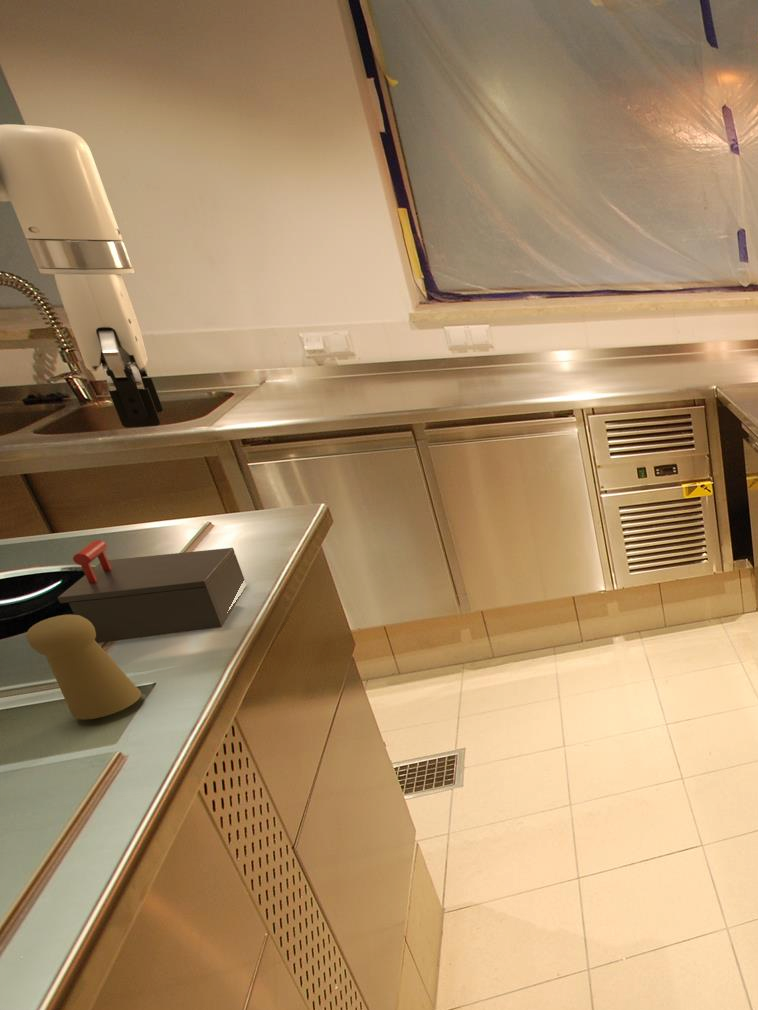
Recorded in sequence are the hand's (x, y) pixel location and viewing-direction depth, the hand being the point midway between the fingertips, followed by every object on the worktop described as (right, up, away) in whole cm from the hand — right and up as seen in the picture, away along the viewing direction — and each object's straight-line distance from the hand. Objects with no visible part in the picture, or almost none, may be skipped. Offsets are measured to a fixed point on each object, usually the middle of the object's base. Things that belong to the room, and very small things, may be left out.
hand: (144, 419), depth 98 cm
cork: (-2, -33, -2) cm, 34 cm away
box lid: (-14, -17, +16) cm, 28 cm away
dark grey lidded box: (-14, -23, +19) cm, 33 cm away
